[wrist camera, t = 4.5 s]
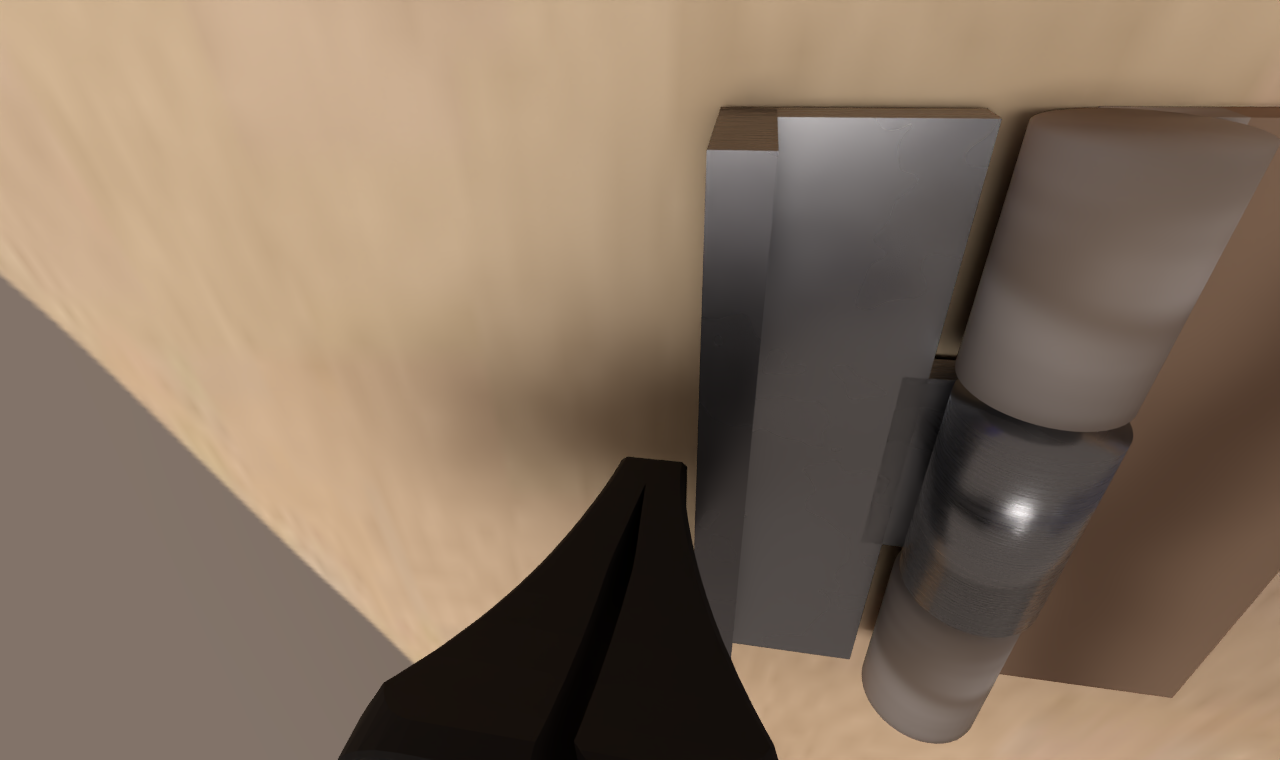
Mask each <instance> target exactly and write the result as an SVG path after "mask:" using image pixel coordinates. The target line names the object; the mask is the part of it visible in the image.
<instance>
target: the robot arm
mask: <svg viewBox="0 0 1280 760" xmlns="http://www.w3.org/2000/svg"><path fill="white" fill-rule="evenodd" d="M686 493H687V466H685V465H684V464H683V463H682V462H675V461H665V460H655V459H644V458H634V457H626V458H624V459H623V460H622V461H621V463H620V464H619V466H618V468H617V469H616V471H615V472H614V474H613V475H612V477H611V478H610V480H609V481H608V483H607V484H606V486H605V487H604V489H603V490H602V491H601V493H600V494H599V495H598V497H597V498H596V500H595V501H594V502H593V503H592V505H591V506H590V507H589V509H588V510H587V511H586V512H585V514H584V515H583V516H582V517H581V519H580V520H579V521H578V523H577V524H576V525H575V526H574V527H573V529H572V530H571V531H570V532H569V533H568V534H567V535H566V537H565V538H564V539H563V540H562V541H561V542H560V543H559V544H558V546H557V547H556V548H555V549H554V550H553V551H552V552H551V553H550V554H549V555H548V557H547V558H546V559H545V560H544V561H543V562H542V563H541V564H540V565H539V566H538V567H537V568H536V569H535V570H534V571H533V572H532V573H531V574H530V575H529V576H528V577H526V578H525V579H524V580H523V581H522V582H521V583H520V584H519V585H518V586H517V587H516V588H515V589H513V590H512V591H511V592H510V593H509V594H508V595H507V596H505V597H504V598H503V599H502V600H501V601H500V602H499V603H497V604H496V605H495V606H494V607H493V608H491V609H490V610H489V611H488V612H487V613H485V614H484V615H483V616H482V617H480V618H479V619H478V620H476V621H475V622H474V623H472V624H471V625H470V626H468V627H467V628H465V629H464V630H463V631H461V632H460V633H459V634H457V635H456V636H455V637H453V638H452V639H451V640H449V641H448V642H446V643H445V644H444V645H442V646H441V647H439V648H438V649H436V650H435V651H434V652H432V653H430V654H429V655H427V656H426V657H424V658H423V659H421V660H419V661H418V662H416V663H415V664H413V665H411V666H410V667H408V668H407V669H405V670H404V671H402V672H401V673H399V674H397V675H396V676H394V677H393V678H391V679H389V680H387V681H386V682H384V683H383V684H382V686H381V688H380V689H379V691H378V692H377V694H376V695H375V696H374V698H373V699H372V701H371V702H370V703H369V705H368V707H367V708H366V710H365V711H364V713H363V714H362V716H361V718H360V719H359V721H358V723H357V725H356V727H355V729H354V731H353V732H352V734H351V736H350V738H349V740H348V742H347V743H346V745H345V747H344V749H343V751H342V753H341V755H340V756H339V758H338V760H778V757H777V754H776V750H775V747H774V744H773V742H772V740H771V739H770V737H769V735H768V733H767V731H766V730H765V728H764V726H763V724H762V722H761V720H760V719H759V717H758V715H757V713H756V711H755V709H754V707H753V705H752V703H751V701H750V699H749V697H748V695H747V693H746V691H745V689H744V687H743V685H742V683H741V681H740V679H739V677H738V674H737V672H736V670H735V667H734V665H733V663H732V660H731V658H730V656H729V653H728V651H727V649H726V647H725V644H724V642H723V640H722V637H721V635H720V632H719V629H718V627H717V624H716V621H715V619H714V616H713V613H712V610H711V607H710V604H709V601H708V599H707V596H706V592H705V589H704V586H703V583H702V579H701V576H700V572H699V568H698V564H697V561H696V557H695V553H694V548H693V544H692V539H691V533H690V528H689V523H688V516H687V509H686Z"/></svg>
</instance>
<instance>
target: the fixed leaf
mask: <svg viewBox="0 0 1280 760" xmlns="http://www.w3.org/2000/svg"><path fill="white" fill-rule="evenodd" d="M955 371H956V374H957V377H958V378H959V380H960V382H961V383H962V384H963V386H964V387H965V388H966V389H967V390H968V391H969V392H970V393H971V394H973V395H974V396H975V397H976V398H978V399H979V400H981V401H982V402H984V403H985V404H987V405H988V406H990V407H992V408H994V409H996V410H998V411H1000V412H1002V413H1004V414H1006V415H1009V416H1011V417H1014V418H1016V419H1019V420H1022V421H1025V422H1028V423H1031V424H1035V425H1039V426H1043V427H1047V428H1052V429H1058V430H1065V431H1074V432H1099V431H1107V430H1111V429H1115V428H1119V427H1121V426H1124V425H1126V424H1127V423H1129V422H1130V424H1131V426H1132V429H1133V441H1132V443H1131V445H1130V447H1129V449H1128V451H1127V453H1126V455H1125V456H1124V458H1123V460H1122V462H1121V464H1120V466H1119V467H1118V469H1117V471H1116V473H1115V475H1114V477H1113V479H1112V480H1111V482H1110V484H1109V486H1108V488H1107V490H1106V491H1105V493H1104V495H1103V497H1102V499H1101V501H1100V503H1099V504H1098V506H1097V508H1096V510H1095V512H1094V514H1093V515H1092V517H1091V519H1090V521H1089V523H1088V525H1087V526H1086V528H1085V530H1084V532H1083V534H1082V536H1081V538H1080V539H1079V541H1078V543H1077V545H1076V547H1075V549H1074V550H1073V552H1072V554H1071V556H1070V558H1069V560H1068V562H1067V563H1066V565H1065V567H1064V569H1063V571H1062V573H1061V574H1060V576H1059V578H1058V580H1057V582H1056V584H1055V586H1054V587H1053V589H1052V591H1051V593H1050V595H1049V597H1048V598H1047V600H1046V602H1045V604H1044V606H1043V608H1042V609H1041V611H1040V613H1039V615H1038V617H1037V619H1036V621H1035V622H1034V623H1033V624H1032V626H1030V627H1029V628H1028V629H1027V630H1025V631H1023V632H1021V633H1019V634H1016V635H1013V636H1008V637H997V638H993V637H983V636H977V635H973V634H969V633H966V632H963V631H960V630H958V629H955V628H953V627H951V626H949V625H947V624H945V623H943V622H942V621H940V620H938V619H937V618H935V617H934V616H932V615H931V614H930V613H928V612H927V611H926V610H925V609H924V608H923V607H921V606H920V605H919V604H918V602H917V601H916V600H915V599H914V598H913V597H912V595H911V594H910V593H909V591H908V590H907V588H906V586H905V585H904V582H903V580H902V577H901V574H900V569H899V559H900V555H901V551H902V550H901V551H900V552H899V554H898V555H897V557H896V559H895V562H894V565H893V568H892V571H891V575H890V578H889V581H888V584H887V588H886V591H885V594H884V598H883V601H882V604H881V607H880V611H879V614H878V617H877V620H876V624H875V627H874V630H873V634H872V637H871V640H870V643H869V647H868V650H867V653H866V656H865V660H864V663H863V667H862V682H863V687H864V690H865V693H866V695H867V698H868V700H869V702H870V703H871V705H872V706H873V708H874V709H875V711H876V712H877V713H878V714H879V715H880V716H881V718H882V719H883V720H884V721H886V722H887V723H888V724H889V725H890V726H892V727H893V728H894V729H896V730H897V731H899V732H900V733H902V734H904V735H906V736H908V737H910V738H912V739H915V740H918V741H922V742H926V743H935V744H939V743H948V742H952V741H955V740H957V739H959V738H961V737H962V736H963V735H965V734H966V733H967V732H968V730H969V729H970V728H971V726H972V724H973V722H974V721H975V719H976V717H977V715H978V713H979V711H980V709H981V707H982V705H983V704H984V702H985V700H986V698H987V696H988V694H989V692H990V690H991V688H992V687H993V685H994V683H995V681H996V679H997V677H998V675H999V674H1003V675H1011V676H1018V677H1025V678H1032V679H1039V680H1047V681H1054V682H1061V683H1068V684H1075V685H1083V686H1090V687H1097V688H1104V689H1112V690H1119V691H1126V692H1133V693H1140V694H1148V695H1155V696H1162V697H1169V698H1172V697H1173V696H1174V695H1175V694H1176V693H1177V692H1178V690H1179V689H1180V688H1181V687H1182V686H1183V684H1184V683H1185V682H1186V681H1187V680H1188V678H1189V677H1190V676H1191V675H1192V674H1193V673H1194V671H1195V670H1196V669H1197V668H1198V667H1199V665H1200V664H1201V663H1202V662H1203V661H1204V659H1205V658H1206V657H1207V656H1208V655H1209V654H1210V652H1211V651H1212V650H1213V649H1214V648H1215V646H1216V645H1217V644H1218V643H1219V642H1220V640H1221V639H1222V638H1223V637H1224V636H1225V635H1226V633H1227V632H1228V631H1229V630H1230V629H1231V627H1232V626H1233V625H1234V624H1235V623H1236V622H1237V620H1238V619H1239V618H1240V617H1241V616H1242V614H1243V613H1244V612H1245V611H1246V610H1247V608H1248V607H1249V606H1250V605H1251V604H1252V603H1253V601H1254V600H1255V599H1256V598H1257V597H1258V595H1259V594H1260V593H1261V592H1262V591H1263V589H1264V588H1265V587H1266V586H1267V585H1268V584H1269V582H1270V581H1271V580H1272V579H1273V578H1274V576H1275V575H1276V574H1277V573H1278V572H1279V570H1280V107H1098V108H1073V109H1061V110H1053V111H1047V112H1043V113H1039V114H1036V115H1034V116H1032V117H1031V118H1030V120H1029V123H1028V126H1027V129H1026V133H1025V136H1024V139H1023V143H1022V146H1021V149H1020V152H1019V156H1018V159H1017V162H1016V165H1015V169H1014V172H1013V175H1012V179H1011V182H1010V185H1009V188H1008V192H1007V195H1006V198H1005V201H1004V205H1003V208H1002V211H1001V215H1000V218H999V221H998V224H997V228H996V231H995V234H994V237H993V241H992V244H991V247H990V251H989V254H988V257H987V260H986V264H985V267H984V270H983V273H982V277H981V280H980V283H979V287H978V290H977V293H976V296H975V300H974V303H973V306H972V309H971V313H970V316H969V319H968V323H967V326H966V329H965V332H964V336H963V339H962V342H961V345H960V349H959V352H958V355H957V359H956V362H955Z"/></svg>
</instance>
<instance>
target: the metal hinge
mask: <svg viewBox="0 0 1280 760" xmlns="http://www.w3.org/2000/svg"><path fill="white" fill-rule="evenodd" d="M1001 120H1002V118H1000V117H999V116H997V115H996V114H995V113H993V112H992V111H991V110H989V109H988V108H778V107H721V109H720V112H719V115H718V118H717V121H716V124H715V127H714V130H713V133H712V136H711V139H710V142H709V145H708V148H707V159H706V191H705V223H704V255H703V287H702V319H701V352H700V384H699V416H698V448H697V480H696V512H695V544H694V553H695V557H696V561H697V564H698V568H699V572H700V576H701V579H702V583H703V586H704V589H705V592H706V596H707V599H708V601H709V604H710V607H711V610H712V613H713V616H714V619H715V621H716V624H717V627H718V629H719V632H720V635H721V637H722V640H723V642H724V644H725V647H726V649H727V651H728V653H729V656H730V658H731V652H732V643H737V644H744V645H751V646H759V647H766V648H773V649H780V650H787V651H794V652H801V653H808V654H816V655H823V656H830V657H837V658H844V659H850V656H851V652H852V649H853V645H854V642H855V638H856V635H857V631H858V628H859V624H860V620H861V617H862V613H863V610H864V606H865V603H866V599H867V596H868V592H869V588H870V585H871V581H872V578H873V574H874V571H875V567H876V564H877V560H878V557H879V553H880V549H881V546H882V544H883V545H892V546H901V547H903V548H902V551H901V555H900V559H899V569H900V574H901V577H902V580H903V582H904V585H905V586H906V588H907V590H908V591H909V593H910V594H911V595H912V597H913V598H914V599H915V600H916V601H917V602H918V604H919V605H920V606H921V607H923V608H924V609H925V610H926V611H927V612H928V613H930V614H931V615H932V616H934V617H935V618H937V619H938V620H940V621H942V622H943V623H945V624H947V625H949V626H951V627H953V628H955V629H958V630H960V631H963V632H966V633H969V634H973V635H977V636H983V637H993V638H997V637H1008V636H1013V635H1016V634H1019V633H1021V632H1023V631H1025V630H1027V629H1028V628H1029V627H1030V626H1032V624H1033V623H1034V622H1035V621H1036V619H1037V617H1038V615H1039V613H1040V611H1041V609H1042V608H1043V606H1044V604H1045V602H1046V600H1047V598H1048V597H1049V595H1050V593H1051V591H1052V589H1053V587H1054V586H1055V584H1056V582H1057V580H1058V578H1059V576H1060V574H1061V573H1062V571H1063V569H1064V567H1065V565H1066V563H1067V562H1068V560H1069V558H1070V556H1071V554H1072V552H1073V550H1074V549H1075V547H1076V545H1077V543H1078V541H1079V539H1080V538H1081V536H1082V534H1083V532H1084V530H1085V528H1086V526H1087V525H1088V523H1089V521H1090V519H1091V517H1092V515H1093V514H1094V512H1095V510H1096V508H1097V506H1098V504H1099V503H1100V501H1101V499H1102V497H1103V495H1104V493H1105V491H1106V490H1107V488H1108V486H1109V484H1110V482H1111V480H1112V479H1113V477H1114V475H1115V473H1116V471H1117V469H1118V467H1119V466H1120V464H1121V462H1122V460H1123V458H1124V456H1125V455H1126V453H1127V451H1128V449H1129V447H1130V445H1131V443H1132V441H1133V429H1132V426H1131V424H1130V422H1129V423H1127V424H1126V425H1124V426H1121V427H1119V428H1115V429H1111V430H1107V431H1099V432H1074V431H1065V430H1058V429H1052V428H1047V427H1043V426H1039V425H1035V424H1031V423H1028V422H1025V421H1022V420H1019V419H1016V418H1014V417H1011V416H1009V415H1006V414H1004V413H1002V412H1000V411H998V410H996V409H994V408H992V407H990V406H988V405H987V404H985V403H984V402H982V401H981V400H979V399H978V398H976V397H975V396H974V395H973V394H971V393H970V392H969V391H968V390H967V389H966V388H965V387H964V386H963V384H962V383H961V382H960V380H959V378H958V377H957V374H956V371H955V362H956V360H944V359H934V358H935V354H936V351H937V347H938V344H939V340H940V336H941V333H942V329H943V326H944V322H945V319H946V315H947V312H948V308H949V304H950V301H951V297H952V294H953V290H954V287H955V283H956V280H957V276H958V273H959V269H960V265H961V262H962V258H963V255H964V251H965V248H966V244H967V241H968V237H969V233H970V230H971V226H972V223H973V219H974V216H975V212H976V209H977V205H978V202H979V198H980V194H981V191H982V187H983V184H984V180H985V177H986V173H987V170H988V166H989V162H990V159H991V155H992V152H993V148H994V145H995V141H996V138H997V134H998V131H999V127H1000V123H1001Z"/></svg>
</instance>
